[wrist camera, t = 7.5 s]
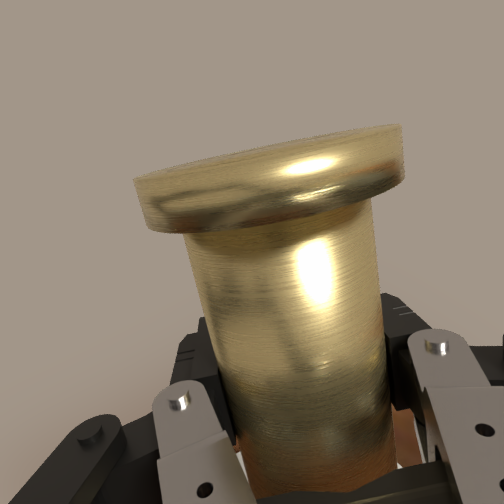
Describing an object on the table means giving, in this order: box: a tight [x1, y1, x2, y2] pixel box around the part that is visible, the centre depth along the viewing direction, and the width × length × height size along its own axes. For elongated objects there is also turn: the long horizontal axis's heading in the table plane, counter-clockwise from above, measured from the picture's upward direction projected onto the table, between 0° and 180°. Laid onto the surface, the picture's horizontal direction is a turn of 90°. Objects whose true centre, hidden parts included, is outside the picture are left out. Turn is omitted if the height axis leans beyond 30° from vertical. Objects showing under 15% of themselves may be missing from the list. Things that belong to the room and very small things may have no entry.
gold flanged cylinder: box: [133, 124, 405, 499], centre depth 10 cm, size 6×6×14 cm
